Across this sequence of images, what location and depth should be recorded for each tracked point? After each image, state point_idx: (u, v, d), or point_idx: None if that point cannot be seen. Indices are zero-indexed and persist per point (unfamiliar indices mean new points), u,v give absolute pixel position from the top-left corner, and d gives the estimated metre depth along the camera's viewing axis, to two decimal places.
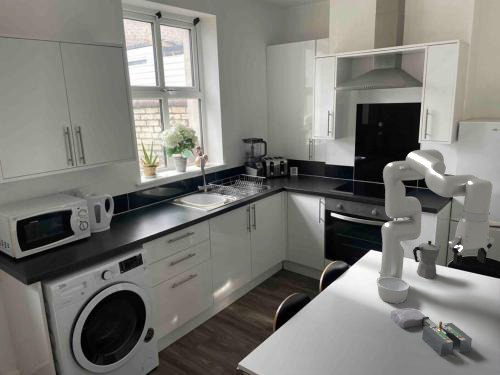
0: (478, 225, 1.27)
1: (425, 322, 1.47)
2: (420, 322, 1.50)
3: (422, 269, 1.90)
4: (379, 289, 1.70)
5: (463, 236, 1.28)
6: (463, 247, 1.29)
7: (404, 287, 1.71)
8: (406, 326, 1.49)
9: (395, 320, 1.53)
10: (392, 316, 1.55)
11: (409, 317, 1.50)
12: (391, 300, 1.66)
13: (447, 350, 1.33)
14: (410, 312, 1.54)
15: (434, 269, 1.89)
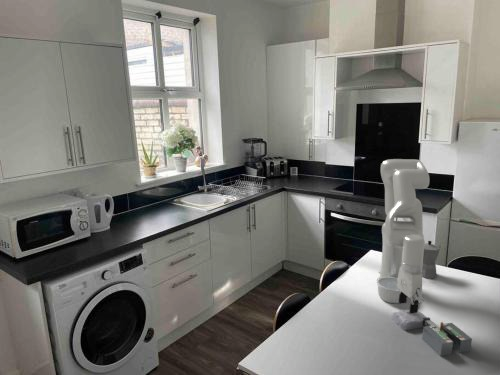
0: None
1: (426, 323, 1.47)
2: None
3: (422, 269, 1.90)
4: (379, 289, 1.70)
5: (420, 287, 1.46)
6: None
7: None
8: (408, 328, 1.48)
9: (397, 322, 1.51)
10: (394, 318, 1.53)
11: (411, 319, 1.49)
12: (391, 300, 1.66)
13: (447, 350, 1.33)
14: (412, 313, 1.53)
15: (434, 269, 1.89)
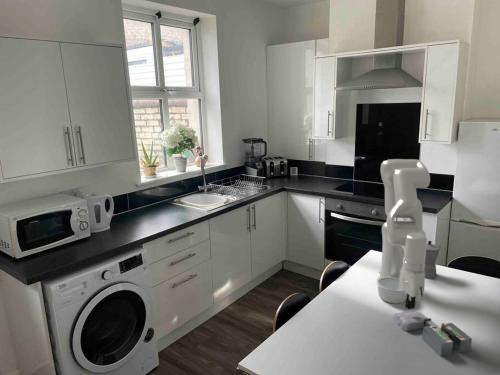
0: None
1: (427, 324, 1.46)
2: None
3: None
4: (379, 289, 1.70)
5: (423, 286, 1.45)
6: None
7: None
8: (409, 329, 1.47)
9: (398, 323, 1.51)
10: (395, 319, 1.53)
11: (412, 320, 1.48)
12: (391, 300, 1.66)
13: (447, 350, 1.33)
14: (413, 314, 1.52)
15: (434, 269, 1.89)
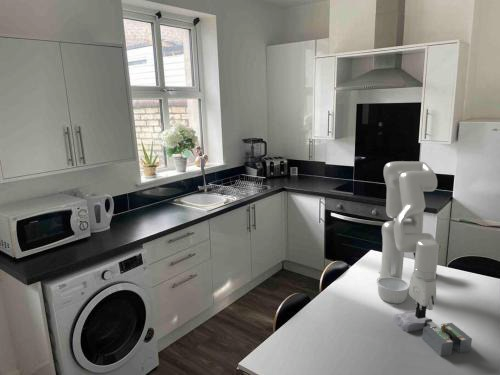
0: None
1: (428, 325, 1.46)
2: None
3: None
4: (379, 289, 1.70)
5: (434, 294, 1.39)
6: (434, 303, 1.40)
7: (404, 287, 1.71)
8: (410, 330, 1.47)
9: (399, 324, 1.50)
10: (396, 319, 1.52)
11: (413, 320, 1.47)
12: (391, 300, 1.66)
13: (447, 350, 1.33)
14: (413, 315, 1.52)
15: None
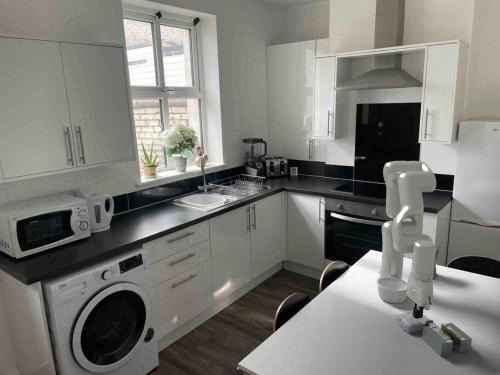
0: None
1: None
2: None
3: None
4: (379, 289, 1.70)
5: (431, 295, 1.40)
6: (431, 303, 1.41)
7: (404, 287, 1.71)
8: (411, 331, 1.46)
9: (400, 325, 1.50)
10: (397, 320, 1.51)
11: (414, 321, 1.47)
12: (391, 300, 1.66)
13: (447, 350, 1.33)
14: None
15: (434, 269, 1.89)
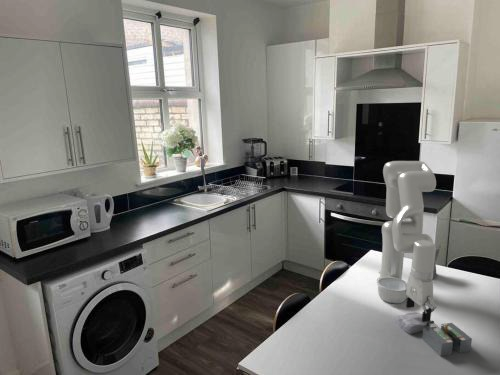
0: None
1: None
2: None
3: None
4: (379, 289, 1.70)
5: (431, 295, 1.40)
6: None
7: (404, 287, 1.71)
8: (412, 331, 1.45)
9: (401, 325, 1.49)
10: (397, 321, 1.51)
11: (415, 322, 1.46)
12: (391, 300, 1.66)
13: (447, 350, 1.33)
14: (415, 317, 1.51)
15: (434, 269, 1.89)
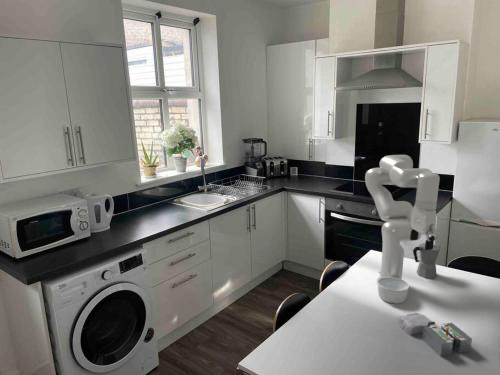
0: None
1: None
2: None
3: (422, 269, 1.90)
4: (379, 289, 1.70)
5: (434, 223, 1.47)
6: None
7: (404, 287, 1.71)
8: (414, 333, 1.45)
9: (402, 326, 1.48)
10: (398, 322, 1.50)
11: (416, 323, 1.46)
12: (391, 300, 1.66)
13: (447, 350, 1.33)
14: (416, 317, 1.50)
15: (434, 269, 1.89)
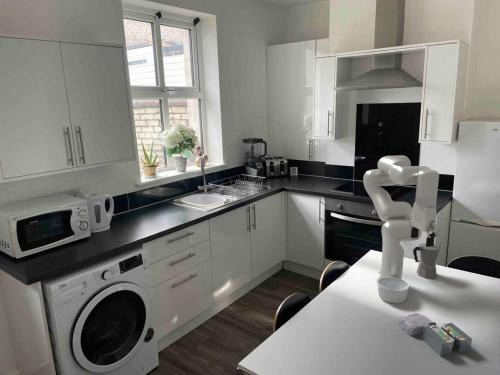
0: None
1: None
2: None
3: (422, 269, 1.90)
4: (379, 289, 1.70)
5: (435, 220, 1.48)
6: None
7: (404, 287, 1.71)
8: (415, 333, 1.44)
9: (403, 327, 1.48)
10: (399, 323, 1.50)
11: (417, 324, 1.45)
12: (391, 300, 1.66)
13: (447, 350, 1.33)
14: (417, 318, 1.50)
15: (434, 269, 1.89)
